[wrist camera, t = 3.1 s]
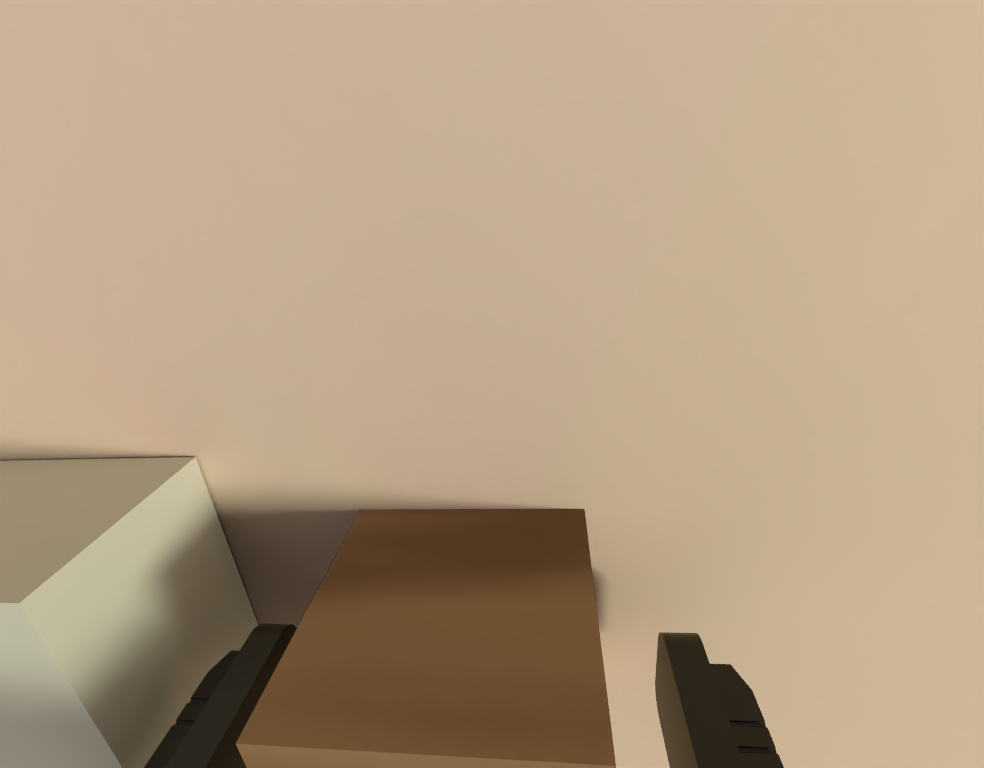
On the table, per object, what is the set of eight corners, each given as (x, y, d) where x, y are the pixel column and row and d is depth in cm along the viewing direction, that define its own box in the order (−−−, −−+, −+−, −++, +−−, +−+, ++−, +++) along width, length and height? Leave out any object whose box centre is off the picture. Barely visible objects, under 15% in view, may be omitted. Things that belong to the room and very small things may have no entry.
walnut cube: (361, 507, 11) (235, 743, 7) (583, 507, 11) (616, 765, 6) (395, 658, 13) (317, 921, 9) (584, 665, 12) (608, 950, 8)
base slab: (-178, 463, 12) (-491, 592, 8) (195, 456, 11) (18, 603, 7) (12, 723, 16) (-144, 886, 12) (301, 739, 15) (222, 925, 11)
